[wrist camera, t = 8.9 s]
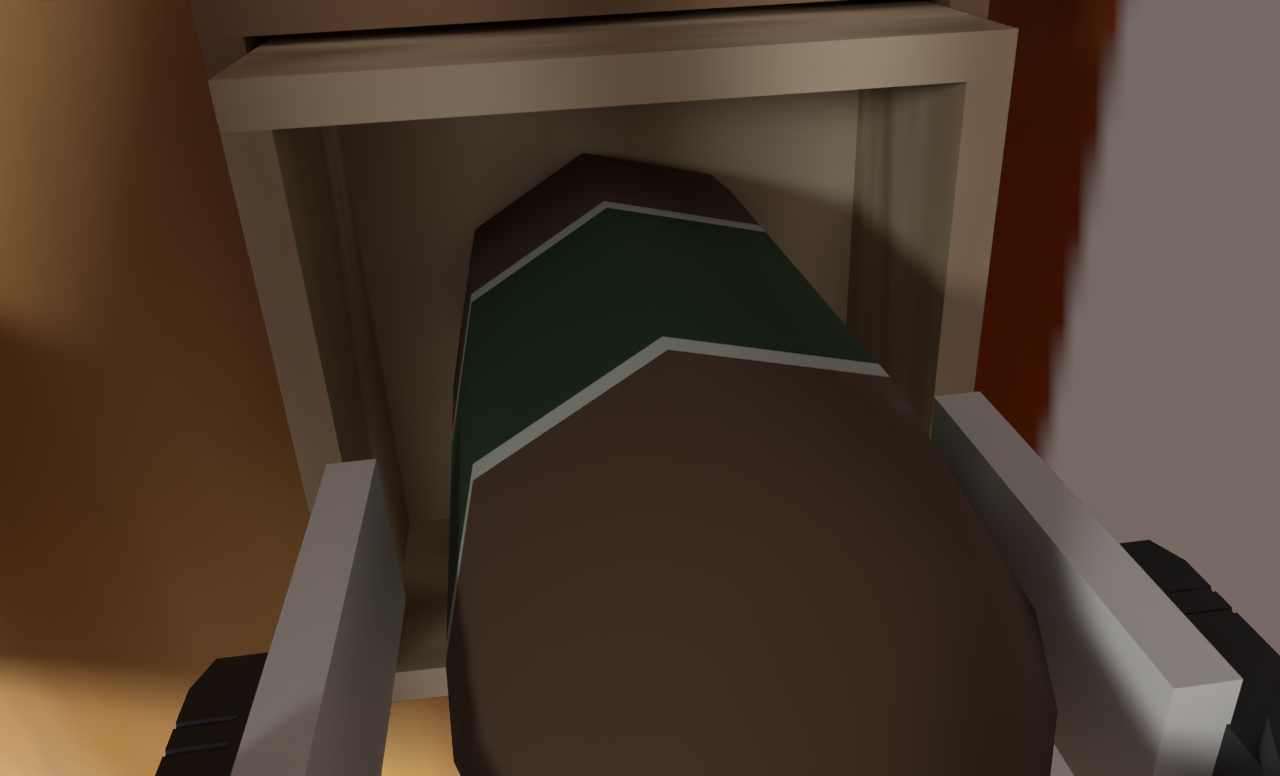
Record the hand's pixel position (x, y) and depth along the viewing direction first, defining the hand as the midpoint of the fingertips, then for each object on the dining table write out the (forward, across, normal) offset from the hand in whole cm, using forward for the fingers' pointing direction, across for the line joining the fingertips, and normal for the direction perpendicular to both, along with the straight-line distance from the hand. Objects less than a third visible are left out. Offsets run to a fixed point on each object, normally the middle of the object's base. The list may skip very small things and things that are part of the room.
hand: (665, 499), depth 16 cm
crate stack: (+12, 0, 0) cm, 12 cm away
